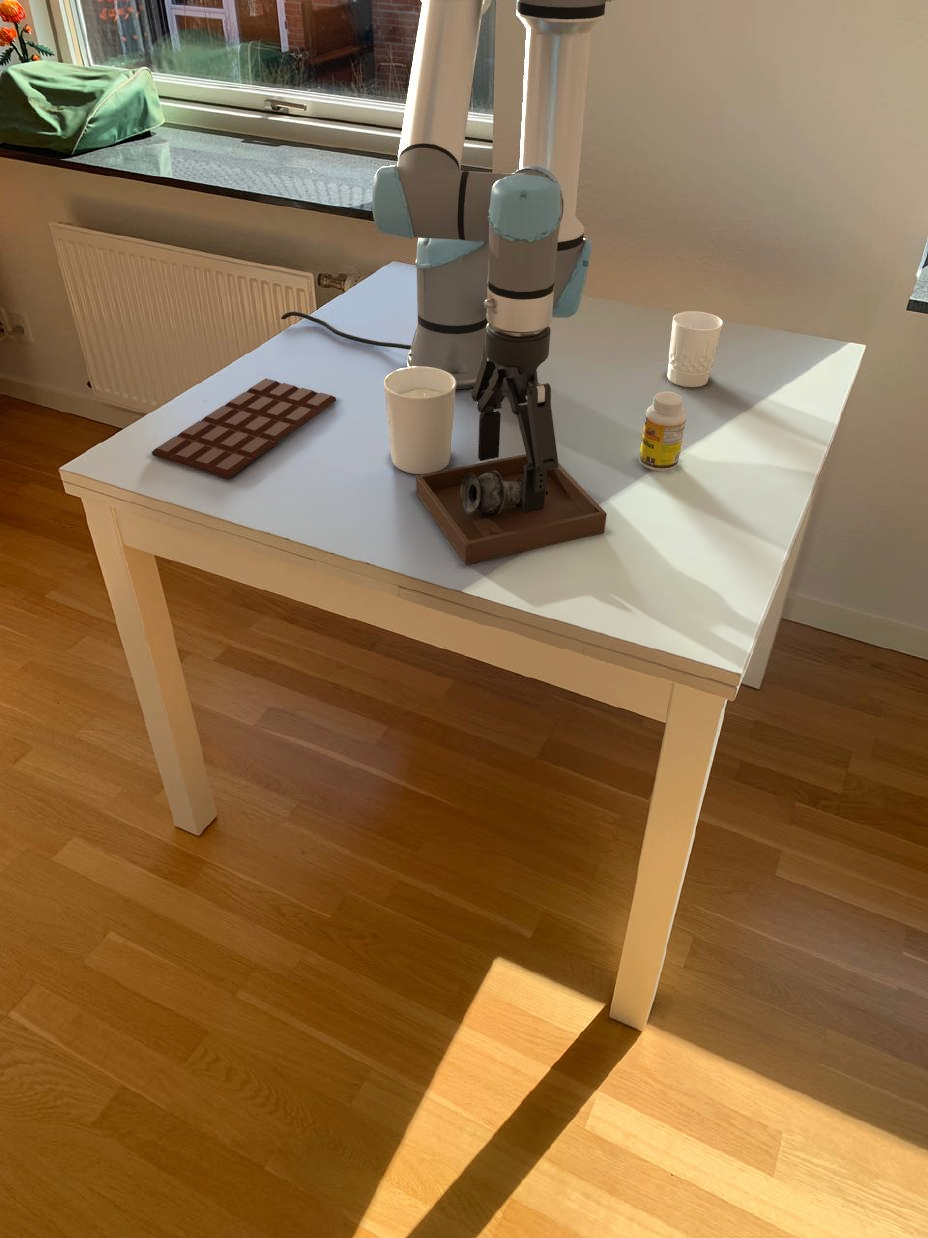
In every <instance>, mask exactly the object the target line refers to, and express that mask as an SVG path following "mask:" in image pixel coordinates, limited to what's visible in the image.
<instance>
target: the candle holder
mask: <svg viewBox="0 0 928 1238" xmlns="http://www.w3.org/2000/svg"><path fill="white" fill-rule="evenodd" d="M383 389H384V398H385V407H386V419H387V427H388V438H389V439H388V440H389V446H390V447H389V448H390V455H391V456H390V457H391V461H392V464H393V466H395V467H396V468H397V469H398V470H400V471H401V472H404V473H408V474H413V475H421V474H426V473H431V472H436V471H441V470H444V469H446V467H447V466H448V465H449V464H450V461H451V453H452V441H453V429H454V413H455V399H456V390H457V389H456V380H455V378H454V377H453V376H452V375H451V374H450V373H448V372H446V371H444V370H441V369H437V368H432V367H407V366H406V367H403V368H399V369H396V370H394V371H392V372H390V373H389V374H388V375H386V377H385V378H384V380H383Z"/></svg>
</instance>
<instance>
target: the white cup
mask: <svg viewBox="0 0 928 1238" xmlns="http://www.w3.org/2000/svg"><path fill="white" fill-rule="evenodd" d="M723 326H724V321H723V319H722V318H721V317H719V316H717V315H715V314H713V313H710V312H704V311H700V310H699V311H698V310H697V311H696V310H687V311H681V312H678V313H676V314H675V315H673V316H672V325H671V332H670V333H671V334H670V339H669V340H670V341H669V352H668V366H667V373H666V376H667V379H668V381H669V382H671V383H672V384H674V385H677V386H680V387H684V388H699V387H703V386H705V385H707V384H708V382H709V379H710V375H711V372H712V368H713V367H714V362H715V358H716V353H717V351H718V346H719V342H720V339H721V334H722V329H723Z"/></svg>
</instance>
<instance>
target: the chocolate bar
mask: <svg viewBox="0 0 928 1238" xmlns="http://www.w3.org/2000/svg"><path fill="white" fill-rule="evenodd" d="M336 402H337V397H335V396H333V395H331V394H328V393H325V392H324V393H323V392H317V391H314V390H312V389H308V388H304V387H301V388H300V387H297V386H296V385H293V384H289V383H285V382H283V383H281V382H279V381H277V380H273V379H270V378H263V379H262V380H260V381H259V382H258V383H256V384H255V385H252V386H251V387H249V389H248V390H246V391H243V392H242V393H240V394H239V395H237V396H236V397H234V398H233V399H231V400H230V401H228V402H227V403H225V404H224V405H221V406H220V407H219V408H217V409H216V410H214V411H212V412H211V413H209V414H208V415H206V416H204V417H203V418H202V419H201V420H197V422H195V423H193V424H192V425H190V426H188V427H187V428H185V429H183V431H181V432H180V433H178V435H176V436H173V437H171V438H170V439H168V440H166V441H165V442H164V443H162V444H160V445H158V446H157V447H156V448H155V449H154V450H152V451H151V455H152V456H154V457H157V458H160V459H163V460H165V461H170V462H172V463H173V462H174V463H175V464H176V463H177V464H179V465H184V466H186V467H189V468H193V469H196V470H200V471H203V472H205V473H209V474H212V475H214V476H218V477H222V478H226V479H228V480H229V479H231V478H232V477H234V476H235V475H236V474H238V473H239V472H241V471H242V470H244V469H245V468H246V467H248V466H249V465H250V464H251V463H253V462H254V461H255V460H257V459H259V458H260V457H261V456H262V455H264V454H265V453H267V452H268V451H270V450H271V449H272V448H273V447H275V446H276V445H278V444H279V443H280V442H282V441H283V440H284V439H286V438H287V437H288V436H290V435H291V434H293V433H294V432H295V431H297V430H299V428H301V427H302V426H304V425H305V424H306V423H308V422H309V421H311V420H312V419H313V418H315V417H316V416H318V415H319V414H320V413H322V412H324V410H326V409H327V408H329V407H330V406H331V405H333V404H334V403H336Z"/></svg>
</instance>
